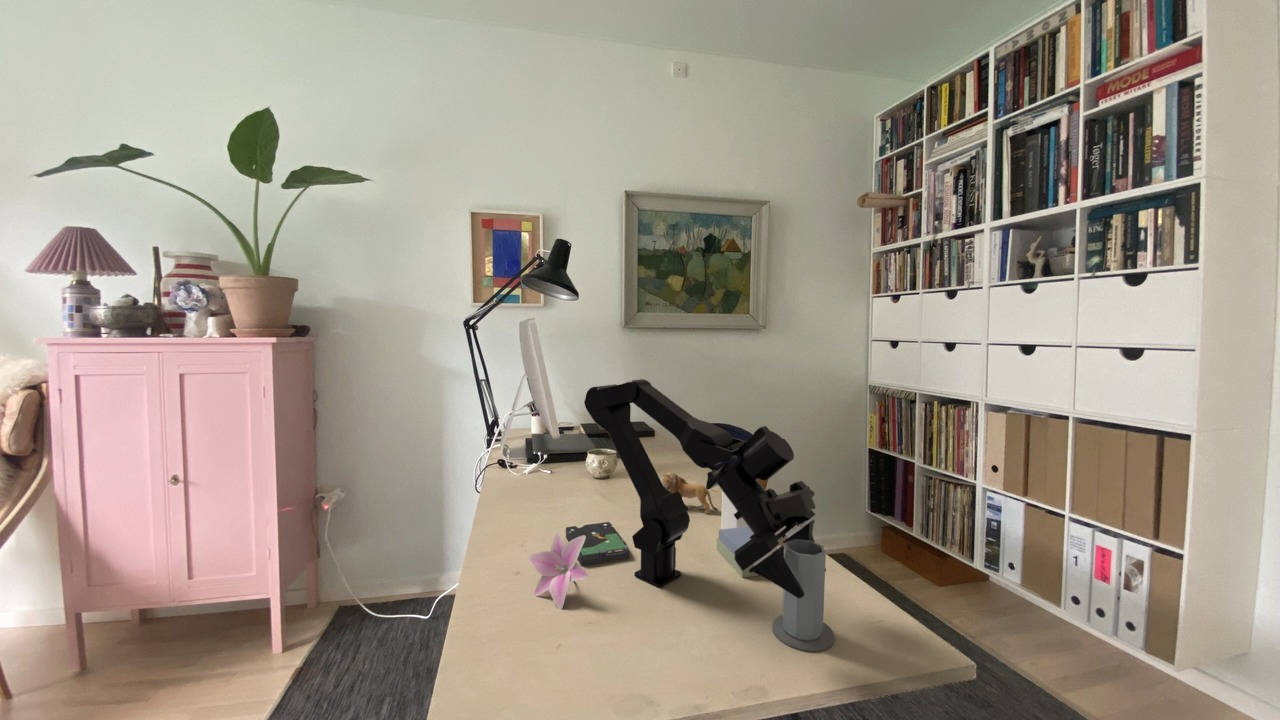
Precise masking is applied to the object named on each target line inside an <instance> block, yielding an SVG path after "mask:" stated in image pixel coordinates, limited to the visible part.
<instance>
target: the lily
mask: <svg viewBox="0 0 1280 720" xmlns="http://www.w3.org/2000/svg"><path fill="white" fill-rule="evenodd" d="M585 538H586V536H585V535H583V536H580V537H577V538H575V539H573V540H571V541H570V542H568V541H567V543H566V544H565V541H564V540H563V538H562V536H561V535H560V533H559V532H556V533H555V534H554V537H553V540H552V543H551V548H550V551H549V550H543V551H539V552H535V553H532V554H530V555H529V556H527V560H528V562H529V563H530V565H531V566H532V568H534V570H535V571H536V572H537V573H538V574H540V575H541V576H540V579H539V580H538V583H537V584H536V586H535V589H534V593H533V596H534V597H538V596H539V595H541V594H543V593H545V592H547V591H549V593H550V595H551V598H552V600H553V602H554V604H555V606H556V608H558V609H559V610H562V609H563V607H564V603H565V600H566V595H567V591H568V588H569V584H570V582H573V583H576V581H582V580H585V579H588V578H589V574H588V572H587V571H586V570H585V568H584V567H583V566H581V565H580V563H579V562H578V560H577V558H578V556H579V553H580V551H581V548H582V546H583V544H584V541H585Z"/></svg>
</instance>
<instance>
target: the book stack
mask: <svg viewBox="0 0 1280 720" xmlns="http://www.w3.org/2000/svg"><path fill="white" fill-rule="evenodd" d="M753 534H754V533H753V532H752V531H751V529H750V528H749V527H742V528H731V529H721V528H720V529H718V538H716V551H717V552H718V553H719V554H720V555H721V557H722V558H724V560H725V561H726V562H727V563H728V564H729V565H730V566H731V567H732V569H734V570H735V571H736V573H737V574H738V575H739V576H740V577H741V578H742V579H743V578H750V577H759V576H760V575H758V574H756V573H754V572H752V573H750V572H749V571H748V570H749V569H750V568H752V567H753V566H754V565H753V564H752V565H751V566H749V567H748V568H746V569H745V570H744V571H742V570H741V568H740V567H739V566H738V564H737V563H736V561H735V551H736V550H737V549H739V548H740V547H741V546H743V545H744V544H745V543H747V542H748V541H749V540H751V539H750V536H752V535H753ZM760 577H761V576H760Z"/></svg>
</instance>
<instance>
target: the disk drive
mask: <svg viewBox="0 0 1280 720" xmlns="http://www.w3.org/2000/svg"><path fill="white" fill-rule="evenodd" d="M583 535H585V536H586V538H585V541H584V544H583V546H582V548H581V551H580V553H579V556H578V558H577V563H578V564H579V565H580V566H581V567H585V566H590V565H591V566H592V565H597V564H604V563H610V562H616V561H623V560H630V555H631V551H630V549H629V546H628V544H627V542H626V541H625V540H624V538H623V537H622V536H621V535H620V533H619V532H618V531H617V530H616V529H615V527H614V525H613V524H612V523H611V522H609V521H605V522H598V523H590V524H584V525H583V526H581V527H579V526H578V527H577V525H574V526H567V527H565V538H566V541H567V540H568V541H567V543H568V542H570V541H571V540H573V539H575V538H577V537H580V536H583Z"/></svg>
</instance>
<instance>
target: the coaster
mask: <svg viewBox="0 0 1280 720" xmlns="http://www.w3.org/2000/svg"><path fill="white" fill-rule="evenodd" d="M771 630H772V632H773V634H774V636H775V637H776V638H777V639H778V640H779V641H780V642H781V643H782V644H784V645H786V646H788V647H789V648H791V649H792V648H793V649H795V650H798V651H802V652H807V653H808V652H809V653H818V652H824V651H827V650H828V649H830V648H832V647H833V646H834V644H835V633H834V631H833V629H832V628H831V627H830V626H829V625H828V624H826V622H824V621H823V632H822V633H821V637H820V638H819V639H818V640H816V641H811V642H805V641H800V640H796V639H794V638H792V637H790V636H789V635H787V634H786V633H785V631H784V630H783V619H782V615H780V616H778V617H776V618H775V619H774V620H773V622H772V629H771Z"/></svg>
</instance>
